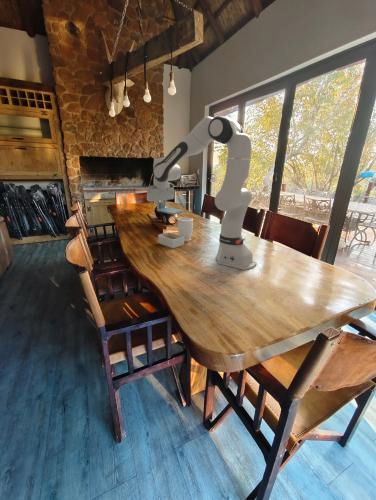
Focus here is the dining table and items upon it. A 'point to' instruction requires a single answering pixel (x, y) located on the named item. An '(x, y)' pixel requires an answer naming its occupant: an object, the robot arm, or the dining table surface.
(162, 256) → the dining table surface
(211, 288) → the dining table surface
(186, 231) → the jar
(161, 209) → the lid
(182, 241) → the tub
